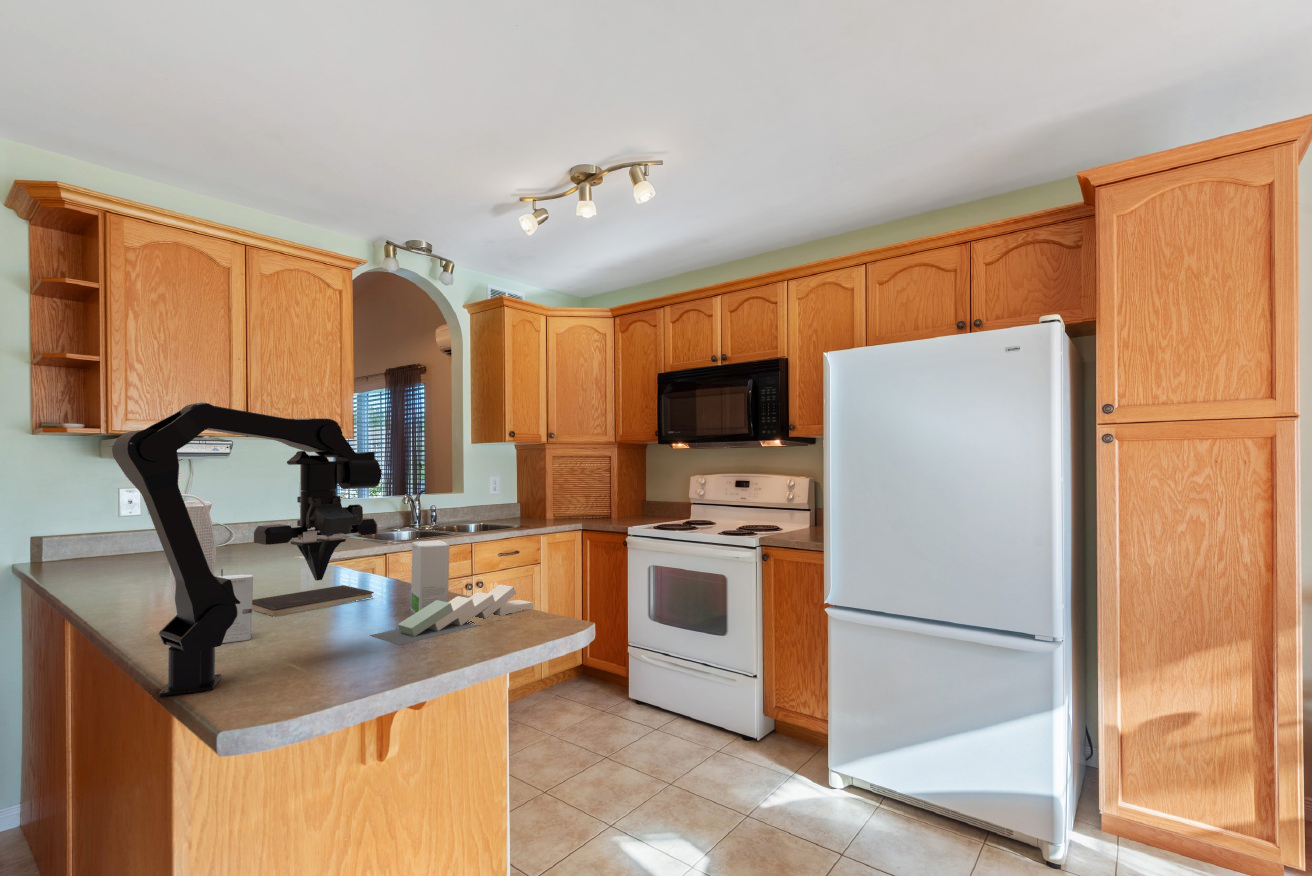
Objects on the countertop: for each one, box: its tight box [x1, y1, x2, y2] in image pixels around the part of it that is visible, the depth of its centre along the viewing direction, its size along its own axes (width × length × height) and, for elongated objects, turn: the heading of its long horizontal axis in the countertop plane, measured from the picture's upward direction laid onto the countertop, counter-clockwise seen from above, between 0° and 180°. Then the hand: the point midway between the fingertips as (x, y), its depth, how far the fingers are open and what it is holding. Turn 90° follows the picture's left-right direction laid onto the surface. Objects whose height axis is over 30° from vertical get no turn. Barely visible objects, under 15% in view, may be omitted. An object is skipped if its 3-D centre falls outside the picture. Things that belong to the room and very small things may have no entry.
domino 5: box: [493, 599, 534, 616], centre depth 143 cm, size 2×5×9 cm
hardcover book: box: [252, 584, 374, 617], centre depth 156 cm, size 16×23×2 cm
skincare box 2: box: [410, 539, 450, 614], centre depth 144 cm, size 8×7×16 cm
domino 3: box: [451, 591, 495, 625], centre depth 135 cm, size 2×5×9 cm
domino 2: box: [428, 595, 475, 631], centre depth 131 cm, size 2×5×9 cm
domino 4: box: [475, 583, 517, 619], centre depth 139 cm, size 2×5×9 cm
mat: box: [369, 620, 481, 646], centre depth 130 cm, size 26×11×1 cm, turn 141°
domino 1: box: [397, 600, 453, 637], centre depth 127 cm, size 2×5×9 cm
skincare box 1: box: [216, 573, 254, 644], centre depth 124 cm, size 6×4×12 cm
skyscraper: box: [168, 493, 224, 618], centre depth 127 cm, size 8×8×28 cm
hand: (318, 580), depth 113 cm, fingers closed
